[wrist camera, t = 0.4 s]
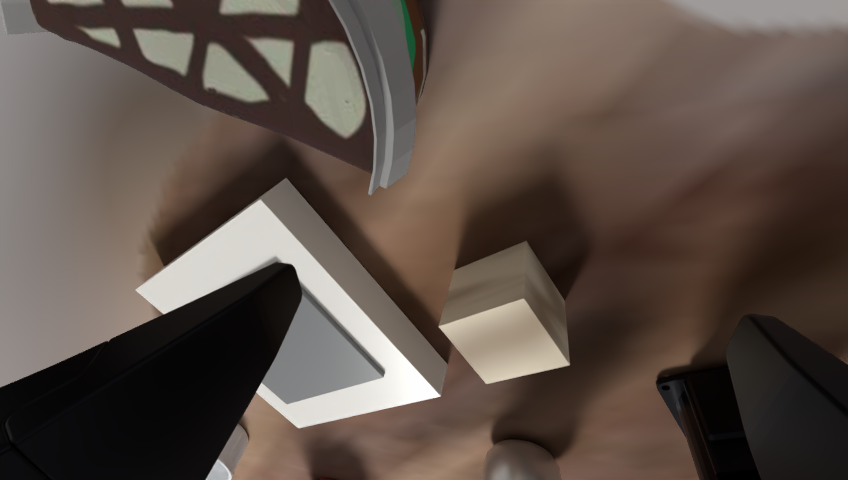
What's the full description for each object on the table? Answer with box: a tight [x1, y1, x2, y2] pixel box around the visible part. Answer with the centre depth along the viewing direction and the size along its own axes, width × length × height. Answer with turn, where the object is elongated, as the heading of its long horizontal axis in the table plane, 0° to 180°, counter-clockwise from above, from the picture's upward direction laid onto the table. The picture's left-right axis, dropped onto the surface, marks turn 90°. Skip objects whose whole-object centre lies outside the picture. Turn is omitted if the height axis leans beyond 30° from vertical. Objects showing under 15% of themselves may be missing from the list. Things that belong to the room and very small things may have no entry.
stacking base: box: [136, 178, 448, 428], centre depth 30 cm, size 18×16×3 cm
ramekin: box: [206, 424, 248, 480], centre depth 45 cm, size 9×9×4 cm
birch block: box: [439, 241, 570, 384], centre depth 23 cm, size 5×5×5 cm
